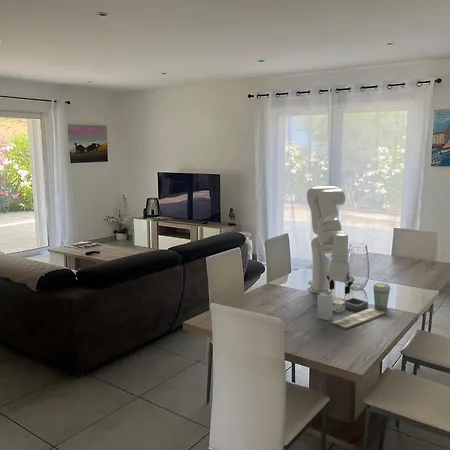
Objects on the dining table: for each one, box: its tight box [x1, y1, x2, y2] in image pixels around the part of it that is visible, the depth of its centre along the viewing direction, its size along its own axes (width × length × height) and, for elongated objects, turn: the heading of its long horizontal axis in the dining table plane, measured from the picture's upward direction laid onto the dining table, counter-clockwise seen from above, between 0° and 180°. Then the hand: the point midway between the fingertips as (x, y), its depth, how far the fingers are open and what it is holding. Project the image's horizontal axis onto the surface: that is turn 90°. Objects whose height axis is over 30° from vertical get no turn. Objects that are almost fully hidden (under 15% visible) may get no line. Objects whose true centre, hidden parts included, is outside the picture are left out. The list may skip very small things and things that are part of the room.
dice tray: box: [342, 297, 369, 313], centre depth 235 cm, size 9×9×3 cm
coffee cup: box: [372, 282, 391, 310], centre depth 233 cm, size 9×9×12 cm
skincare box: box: [316, 293, 333, 321], centre depth 219 cm, size 6×4×12 cm
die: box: [332, 299, 346, 313], centre depth 231 cm, size 5×5×5 cm
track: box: [330, 307, 386, 331], centre depth 219 cm, size 9×30×1 cm, turn 127°
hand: (339, 291), depth 229 cm, fingers open, 9 cm apart
